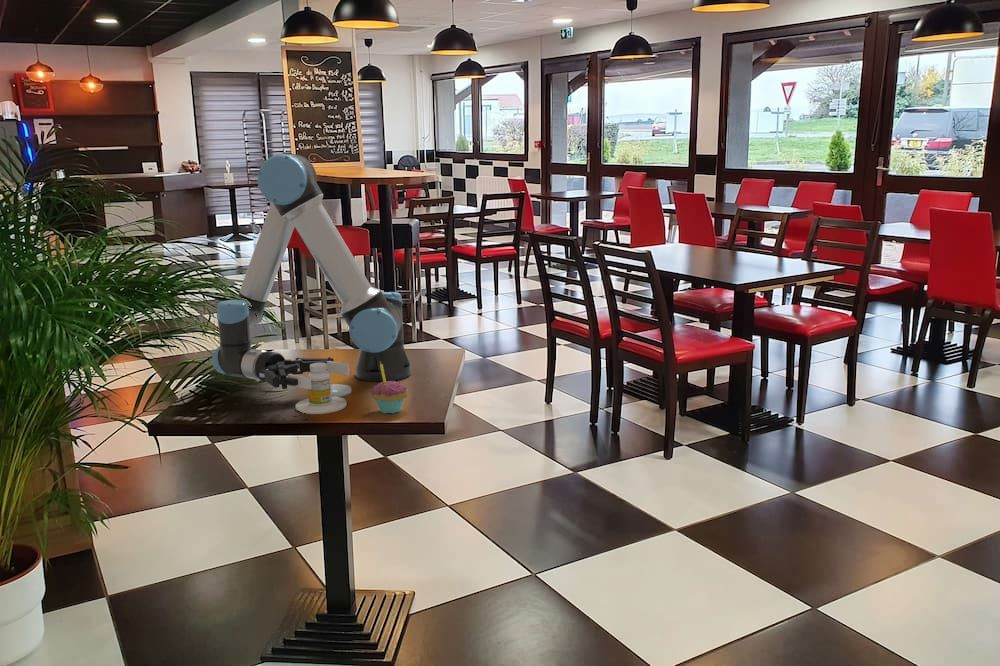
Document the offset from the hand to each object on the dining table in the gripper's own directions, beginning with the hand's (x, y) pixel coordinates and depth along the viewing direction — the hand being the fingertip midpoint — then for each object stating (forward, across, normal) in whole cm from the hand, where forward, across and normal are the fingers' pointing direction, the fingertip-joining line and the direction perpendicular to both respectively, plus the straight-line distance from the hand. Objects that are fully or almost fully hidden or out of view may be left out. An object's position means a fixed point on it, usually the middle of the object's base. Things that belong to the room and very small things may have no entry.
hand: (329, 376), depth 193 cm
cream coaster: (-3, 0, -8) cm, 9 cm away
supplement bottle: (-3, 0, -7) cm, 8 cm away
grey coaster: (-9, -10, -8) cm, 16 cm away
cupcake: (+14, -5, -8) cm, 17 cm away
